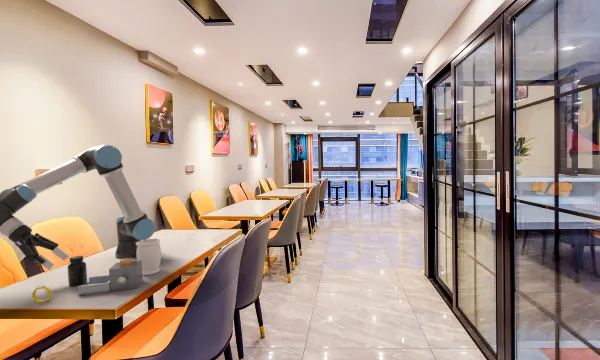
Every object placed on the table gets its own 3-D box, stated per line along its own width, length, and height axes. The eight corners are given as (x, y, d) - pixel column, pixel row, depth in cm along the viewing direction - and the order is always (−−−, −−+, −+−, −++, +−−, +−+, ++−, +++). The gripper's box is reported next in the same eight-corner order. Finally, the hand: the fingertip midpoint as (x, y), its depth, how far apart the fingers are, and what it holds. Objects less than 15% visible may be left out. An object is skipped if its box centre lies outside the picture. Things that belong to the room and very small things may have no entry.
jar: (146, 277, 151) (144, 244, 150) (133, 274, 156) (131, 242, 155) (166, 270, 160) (164, 239, 159) (153, 267, 165) (151, 237, 164)
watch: (31, 304, 126) (29, 289, 125) (36, 301, 128) (34, 286, 128) (49, 301, 127) (46, 286, 126) (53, 298, 129) (51, 283, 129)
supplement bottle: (89, 283, 146) (87, 256, 145) (71, 288, 141) (68, 260, 140) (84, 280, 150) (83, 254, 150) (66, 284, 145) (64, 257, 145)
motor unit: (90, 285, 143) (88, 260, 142) (143, 279, 148) (141, 255, 147) (76, 298, 129) (74, 270, 129) (135, 290, 134) (133, 263, 134)
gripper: (26, 231, 150) (66, 261, 154) (-12, 244, 126) (37, 278, 130) (38, 219, 151) (78, 248, 155) (4, 229, 127) (51, 263, 131)
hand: (59, 262), depth 143 cm, fingers open, 13 cm apart
